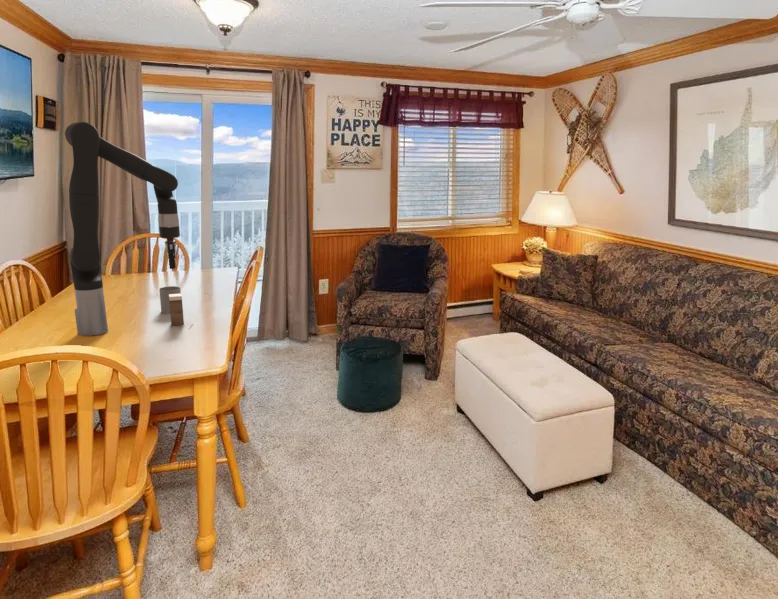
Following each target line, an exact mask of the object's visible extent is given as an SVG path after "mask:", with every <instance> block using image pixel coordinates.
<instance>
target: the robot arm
mask: <svg viewBox="0 0 778 599" xmlns="http://www.w3.org/2000/svg"><path fill="white" fill-rule="evenodd" d="M64 136H65V139H66V141H67V143H68V144H69V145H70V146H71V147H72V148H71V149H72V157H73V165H72V172H71V175H70V179H69V186H68V199H69V200H68V204H69V212H70V219H71V223H72V228H73V243H72V244H73V246H72V248H71V249H70V253H69V261H70V268H71V276H72V282H73V287H74V294H75V302H76V304H75V305H76V308H74V316H75V324H76V330H77V331H76V332H77V335H81V336H83V335H84V337H92V336H91V335H95V336H100V335H99V334H101V335H104V334H106V333H108V332H107V331H109V327H108V317H107V309H106V300H105V293H104V284H103V283H104V282H103V277H102V273H101V264H100V263H101V253H100V248H99V246H100V245H99V238H98V236H99V235H98V228H99V227H98V225H99V219H100V218H99V216H100V215H99V214H100V187H99V186H100V185H99V184H100V183H99V172H98V159H99V158H101V159H103V160H104V161H107V162H109V163H111V164H112V165H114V166H116V167H118V168H119V169H121V170H124V171H125V172H127V173H128V174H130V175H132V176H134V177H136V178H138V179H140V180H142V181H146V182H147V183H150V184H152V186H153V190H154V194H155V199H156V201H157V211H158V214H157V216H158V218H157V220H158V222H157V223H158V233H159V237H160V238H162V239H166V241H164V245H165V250H166V254H167V259H168V266H169V269H170V270H175V269H176V258H177V256H176V253H177V248H176V247H177V242H176V241H175V240H174V239H175V238H180V236H181V233H180V232H181V231H180V219H179V215H178V214H179V212H178V203H177V200H176V199H175V197H174V194H173V191H176V190H177V188H178V185H179V182H178V179H177V177H176V176H175V175H174V174H172V173H170V172H169V171H166V170H165V169H163V168H160V167H158V166H156V165H153V164H152V163H151V162H149V161H147V160H145V159H144V158H142V157H140V156H138V155H137V154H135V153H132V152H130V151H127V150H126V149H123V148H121V147H119V146H117V145H114V144H112V143H111V142H109V141H107V140H106V139H104V138H102V137H101V136H100V133H99V131H98V129H97V128H96V127H95V126H94V125H93V124H91V123H89V122H87V121H78V122H77V121H76V122H73V123H70V124H69V125H68V126H67V127H66V129H65V132H64ZM103 333H104V334H103Z"/></svg>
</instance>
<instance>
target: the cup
mask: <svg viewBox="0 0 778 599" xmlns="http://www.w3.org/2000/svg"><path fill="white" fill-rule="evenodd" d="M181 292H182V291H181V287H180V286H173V285H171V286H163V287H160V288H159V299H160V300H159V301H160V302H159V303H160V312H163V313H162V314H164V313H170V302H169V294H181V295H182V293H181Z"/></svg>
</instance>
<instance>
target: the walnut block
mask: <svg viewBox="0 0 778 599" xmlns="http://www.w3.org/2000/svg"><path fill="white" fill-rule="evenodd" d="M169 302H170V314H169V315H170V323H171V324H170V325H171V327H172V326H175V327H183V326H182V325H184V326H185V321H184V309H183V308H184V307H183V295H182V293H181V294H169Z"/></svg>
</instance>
